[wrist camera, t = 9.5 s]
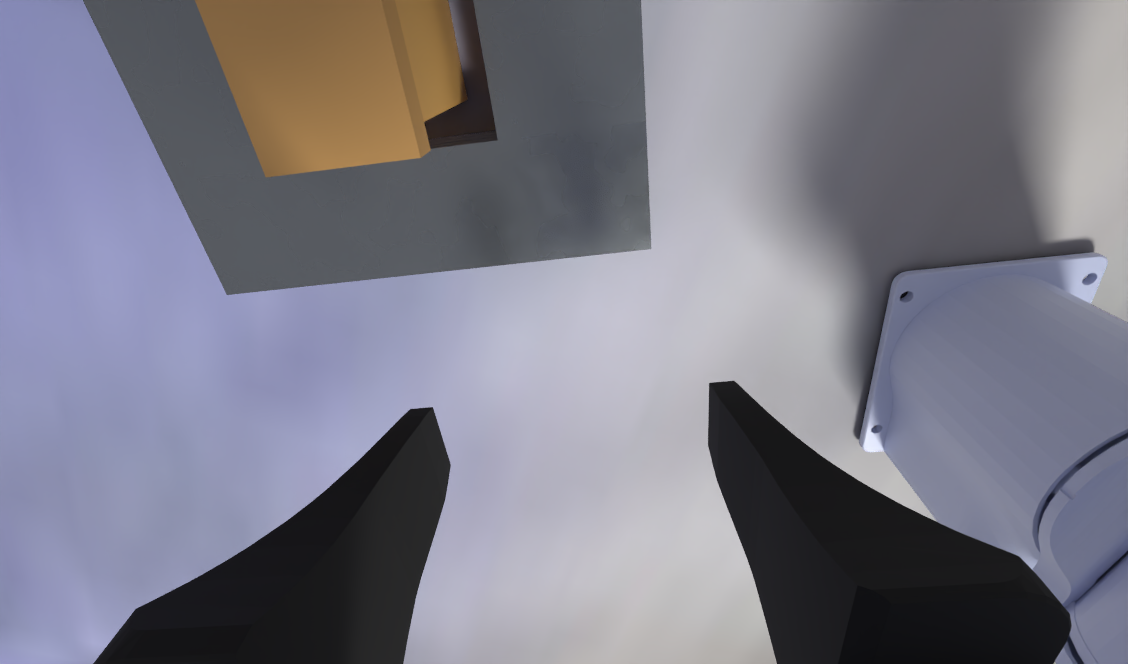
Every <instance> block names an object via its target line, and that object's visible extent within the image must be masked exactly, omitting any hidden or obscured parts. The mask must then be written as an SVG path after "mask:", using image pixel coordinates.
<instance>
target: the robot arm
mask: <svg viewBox="0 0 1128 664" xmlns="http://www.w3.org/2000/svg"><path fill="white" fill-rule="evenodd" d="M1107 263H1108V260H1107V258H1106V257H1105V256H1103V255H1101V254H1098V253H1092V252H1091V253H1081V254H1071V255H1061V256H1051V257H1042V258H1032V259H1022V260H1012V261H1002V262H992V263H982V264H972V265H963V266H953V267H943V268H933V269H923V270H913V271H906V272H902V273H900V274H899V275H897V276H896V277H895V278H894V279H893V282H892V285H891V290H890V294H889V299H888V304H887V309H886V314H885V319H884V323H883V328H882V333H881V338H880V343H879V348H878V352H877V357H876V362H875V367H874V372H873V377H872V381H871V386H870V391H869V396H868V401H867V406H866V410H865V415H864V420H863V425H862V430H861V435H860V440H859V444H860V446H861V447H862V448H863V450H864V451H866V452H880V451H884V452H885V453H886V454H887V456H888V457H889V458H890V460H891V461H892V462H893V464H894V465H895V466H896V468H897V469H898V470H899V472H900V473H901V474H902V476H903V477H904V478H905V480H906V481H907V482H908V484H909V485H910V486H911V487H912V489H913V490H914V491H915V493H916V494H917V495H918V497H919V498H920V499H921V501H922V502H923V503H924V505H925V506H926V507H927V509H928V510H929V511H930V513H931V514H932V515H933V517H934V518H935V519H936V520H937V522H936V521H934V520H932V519H929V518H927V517H925V516H923V515H921V514H919V513H917V512H915V511H913V510H911V509H909V508H907V507H905V506H903V505H901V504H899V503H897V502H895V501H894V500H892V499H890V498H888V497H886V496H885V495H883V494H881V493H879V492H877V491H876V490H874V489H872V488H870V487H869V486H867V485H865V484H863V483H862V482H860V481H858V480H857V479H855V478H854V477H852V476H851V475H849V474H847V473H846V472H844V471H843V470H841V469H840V468H838V467H837V466H835V465H834V464H832V463H831V462H829V461H828V460H826V459H825V458H823V457H822V456H821V455H819V454H818V453H816V452H815V451H814V450H813V449H811V448H810V447H809V446H807V445H806V444H805V443H803V442H802V441H801V440H800V439H798V438H797V437H796V436H795V435H793V434H792V433H791V432H790V431H789V430H788V429H786V428H785V427H784V426H783V425H782V424H780V423H779V422H778V421H777V420H776V419H775V418H774V417H772V416H771V415H770V414H769V413H768V412H767V411H766V410H765V409H764V408H763V407H761V406H760V405H759V404H758V403H757V402H756V401H755V400H754V399H753V398H752V397H751V396H750V395H749V394H748V393H747V392H746V391H745V390H743V389H742V388H741V387H740V386H739V385H738V384H737V383H736V382H735V381H727V382H715V383H709V428H708V446H709V450H710V454H711V458H712V463H713V467H714V470H715V474H716V478H717V481H718V484H719V487H720V489H721V492H722V495H723V497H724V500H725V503H726V505H727V508H728V510H729V513H730V515H731V518H732V521H733V523H734V526H735V528H736V531H737V533H738V536H739V539H740V541H741V544H742V546H743V549H744V551H745V554H746V557H747V559H748V562H749V565H750V568H751V571H752V574H753V577H754V580H755V584H756V587H757V591H758V594H759V598H760V602H761V605H762V609H763V612H764V616H765V620H766V623H767V627H768V631H769V635H770V639H771V642H772V646H773V650H774V654H775V658H776V661H777V664H1053V663H1054V662H1056V664H1128V322H1126V321H1124V320H1122V319H1120V318H1118V317H1116V316H1114V315H1112V314H1110V313H1108V312H1106V311H1104V310H1102V309H1100V308H1098V307H1096V306H1094V305H1092V304H1091V303H1092V300H1093V298H1094V295H1095V293H1096V291H1097V288H1098V286H1099V284H1100V281H1101V279H1102V277H1103V274H1104V272H1105V269H1106V267H1107ZM1086 275H1088V276H1087V277H1086V278H1085V279H1083V278H1084V277H1085V276H1086ZM907 291H908V293H907V295H906V296H905V297H904V298H901V299H900V296H901V295H902V294H903V293H904V292H907ZM875 425H877V426H876V427H874V426H875ZM872 427H874V428H872ZM450 466H451V465H450V461H449V458H448V455H447V452H446V448H445V445H444V442H443V439H442V435H441V432H440V429H439V426H438V423H437V419H436V416H435V413H434V410H433V407H430V408H419V409H410V410H409V411H408V412H407V413H406V414H405V415H404V416H403V417H402V418H401V419H400V420H399V421H398V422H397V423H396V424H395V425H394V426H393V427H392V428H391V429H390V430H389V431H388V432H387V433H386V434H385V435H384V436H383V437H382V438H381V439H380V440H379V441H378V442H377V443H376V444H375V445H374V446H373V447H372V448H371V449H370V450H369V451H368V452H367V453H366V454H365V455H364V456H363V457H362V458H361V459H360V460H359V461H358V462H357V463H355V464H354V465H353V466H352V467H351V468H350V469H349V470H348V471H347V472H346V473H344V474H343V475H342V476H341V477H340V478H339V479H338V480H337V481H336V482H335V483H333V484H332V485H331V486H330V487H329V488H328V489H327V490H326V491H324V492H323V493H322V494H321V495H320V496H318V497H317V498H316V499H315V500H313V501H312V502H311V503H310V504H308V505H307V506H306V507H305V508H303V509H302V510H301V511H299V512H298V513H297V514H295V515H294V516H293V517H291V518H290V519H289V520H287V521H286V522H285V523H283V524H282V525H280V526H279V527H277V528H276V529H274V530H273V531H271V532H270V533H269V534H267V535H266V536H264V537H263V538H261V539H260V540H258V541H257V542H255V543H254V544H252V545H251V546H249V547H248V548H246V549H245V550H243V551H241V552H240V553H238V554H237V555H235V556H233V557H232V558H230V559H228V560H227V561H225V562H223V563H222V564H220V565H218V566H216V567H215V568H213V569H211V570H210V571H208V572H206V573H204V574H203V575H201V576H199V577H197V578H195V579H194V580H192V581H190V582H188V583H186V584H184V585H182V586H180V587H178V588H176V589H174V590H172V591H171V592H169V593H167V594H165V595H163V596H161V597H159V598H157V599H155V600H153V601H151V602H149V603H147V604H145V605H143V606H141V607H139V608H137V609H135V611H134V612H133V613H132V615H131V616H130V617H129V618H128V620H127V621H126V622H125V624H124V625H123V626H122V627H121V629H120V630H119V631H118V633H117V634H116V635H115V636H114V638H113V639H112V640H111V642H110V643H109V644H108V645H107V647H106V648H105V649H104V651H103V652H102V653H101V654H100V656H99V657H98V658H97V660H96V661H95V662H94V663H93V664H403V661H404V656H405V650H406V645H407V639H408V634H409V629H410V624H411V619H412V614H413V609H414V604H415V599H416V595H417V591H418V587H419V583H420V580H421V576H422V573H423V570H424V567H425V563H426V560H427V557H428V554H429V551H430V547H431V544H432V541H433V538H434V535H435V531H436V528H437V525H438V522H439V518H440V515H441V512H442V508H443V505H444V501H445V497H446V491H447V485H448V479H449V472H450Z"/></svg>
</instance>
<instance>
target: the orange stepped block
mask: <svg viewBox="0 0 1128 664" xmlns="http://www.w3.org/2000/svg"><path fill="white" fill-rule="evenodd" d="M195 2H196V4H197V7H198V9H199V12H200V14H201V17H202V19H203V22H204V24H205V27H206V29H207V32H208V34H209V37H210V39H211V42H212V44H213V47H214V49H215V52H216V54H217V57H218V59H219V62H220V64H221V67H222V69H223V72H224V74H225V77H226V79H227V82H228V84H229V87H230V89H231V92H232V94H233V97H234V99H235V102H236V104H237V107H238V109H239V112H240V114H241V117H242V119H243V122H244V124H245V127H246V129H247V132H248V134H249V137H250V139H251V142H252V144H253V147H254V149H255V152H256V154H257V157H258V159H259V162H260V164H261V167H262V169H263V172H264V174H265V177H274V176H282V175H290V174H297V173H305V172H313V171H321V170H329V169H337V168H345V167H353V166H361V165H369V164H376V163H384V162H392V161H400V160H408V159H416V158H421V157H423V156H424V155H425V154H427V153H428V152H429V151H431V149H430V145H429V141H428V136H427V132H426V128H425V124H424V122H425V121H427V120H429V119H431V118H433V117H435V116H437V115H439V114H440V113H442V112H444V111H446V110H448V109H450V108H452V107H454V106H456V105H458V104H460V103H462V102H464V101H466V100H468V99H467V94H466V88H465V83H464V78H463V73H462V68H461V63H460V58H459V53H458V48H457V43H456V38H455V33H454V27H453V22H452V17H451V12H450V7H449V2H448V0H195Z"/></svg>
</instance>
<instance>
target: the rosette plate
mask: <svg viewBox="0 0 1128 664" xmlns="http://www.w3.org/2000/svg"><path fill="white" fill-rule="evenodd" d="M83 1H84V3H85V6H86V8H87V10H88V12H89V14H90V16H91V18H92V20H93V22H94V24H95V26H96V28H97V30H98V32H99V34H100V36H101V38H102V40H103V42H104V44H105V46H106V48H107V50H108V53H109V55H110V57H111V59H112V61H113V63H114V65H115V67H116V69H117V71H118V73H119V75H120V77H121V79H122V81H123V83H124V85H125V87H126V89H127V91H128V93H129V95H130V97H131V100H132V102H133V104H134V106H135V108H136V110H137V112H138V114H139V116H140V118H141V120H142V122H143V124H144V126H145V128H146V130H147V132H148V134H149V136H150V138H151V140H152V142H153V144H154V147H155V149H156V151H157V153H158V155H159V157H160V159H161V161H162V163H163V165H164V167H165V169H166V171H167V173H168V175H169V177H170V179H171V181H172V183H173V185H174V187H175V189H176V191H177V194H178V196H179V198H180V200H181V202H182V204H183V206H184V208H185V210H186V212H187V214H188V216H189V218H190V220H191V222H192V224H193V226H194V228H195V230H196V232H197V234H198V236H199V238H200V241H201V243H202V245H203V247H204V249H205V251H206V253H207V255H208V257H209V259H210V261H211V263H212V265H213V267H214V269H215V271H216V273H217V275H218V277H219V279H220V281H221V283H222V285H223V288H224V290H225V292H226V294H227V295H231V294H240V293H249V292H258V291H267V290H277V289H286V288H295V287H304V286H314V285H323V284H332V283H341V282H350V281H360V280H369V279H378V278H387V277H397V276H406V275H415V274H424V273H433V272H443V271H452V270H461V269H470V268H479V267H489V266H498V265H507V264H516V263H526V262H535V261H544V260H553V259H562V258H572V257H581V256H590V255H599V254H609V253H618V252H627V251H636V250H645V249H651V232H650V208H649V184H648V160H647V136H646V112H645V88H644V64H643V40H642V16H641V0H473V3H474V8H475V14H476V20H477V25H478V31H479V37H480V42H481V48H482V54H483V59H484V65H485V71H486V76H487V82H488V88H489V93H490V99H491V105H492V110H493V116H494V122H495V127H496V131H488V132H480V133H472V134H465V135H457V136H449V137H441V138H434V139H428V141H429V145H430V149H431V151H429V152H428V153H427V154H425V155H424V156H423V157H421V158H416V159H408V160H400V161H392V162H384V163H376V164H369V165H361V166H353V167H345V168H337V169H329V170H321V171H313V172H305V173H297V174H290V175H282V176H274V177H265V174H264V172H263V169H262V167H261V164H260V162H259V159H258V157H257V154H256V152H255V149H254V147H253V144H252V142H251V139H250V137H249V134H248V132H247V129H246V127H245V124H244V122H243V119H242V117H241V114H240V112H239V109H238V107H237V104H236V102H235V99H234V97H233V94H232V92H231V89H230V87H229V84H228V82H227V79H226V77H225V74H224V72H223V69H222V67H221V64H220V62H219V59H218V57H217V54H216V52H215V49H214V47H213V44H212V42H211V39H210V37H209V34H208V32H207V29H206V27H205V24H204V22H203V19H202V17H201V14H200V12H199V9H198V7H197V4H196V2H195V0H83Z"/></svg>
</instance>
